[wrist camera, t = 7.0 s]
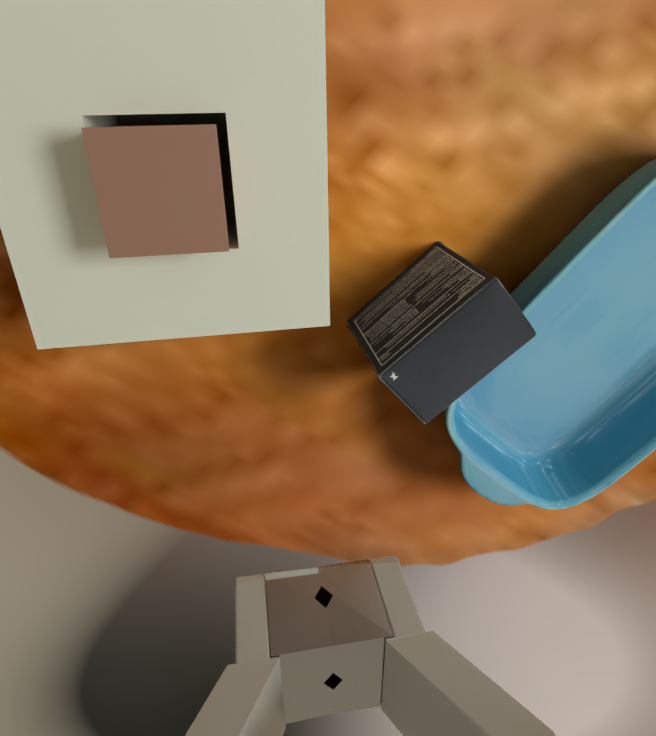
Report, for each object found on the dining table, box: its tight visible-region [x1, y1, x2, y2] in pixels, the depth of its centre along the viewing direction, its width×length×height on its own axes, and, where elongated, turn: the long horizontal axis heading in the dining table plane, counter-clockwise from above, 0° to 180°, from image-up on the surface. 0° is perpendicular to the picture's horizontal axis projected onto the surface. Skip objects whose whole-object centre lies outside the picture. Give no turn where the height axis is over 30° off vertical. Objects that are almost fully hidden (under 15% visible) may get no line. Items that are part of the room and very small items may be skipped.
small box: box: [347, 242, 536, 424], centre depth 40 cm, size 11×6×10 cm, turn 131°
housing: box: [0, 0, 330, 349], centre depth 32 cm, size 19×19×10 cm
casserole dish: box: [444, 159, 656, 510], centre depth 46 cm, size 37×22×7 cm, turn 138°
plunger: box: [82, 122, 229, 258], centre depth 31 cm, size 6×6×12 cm
